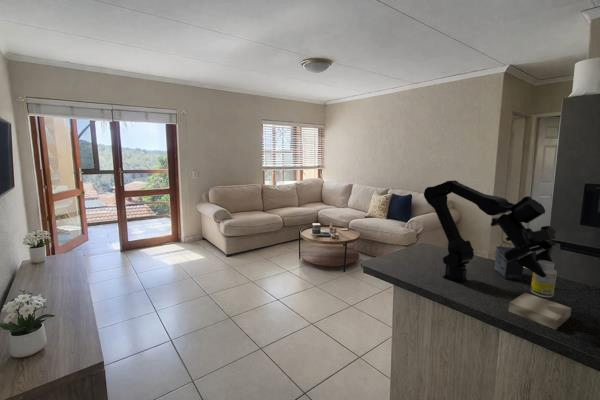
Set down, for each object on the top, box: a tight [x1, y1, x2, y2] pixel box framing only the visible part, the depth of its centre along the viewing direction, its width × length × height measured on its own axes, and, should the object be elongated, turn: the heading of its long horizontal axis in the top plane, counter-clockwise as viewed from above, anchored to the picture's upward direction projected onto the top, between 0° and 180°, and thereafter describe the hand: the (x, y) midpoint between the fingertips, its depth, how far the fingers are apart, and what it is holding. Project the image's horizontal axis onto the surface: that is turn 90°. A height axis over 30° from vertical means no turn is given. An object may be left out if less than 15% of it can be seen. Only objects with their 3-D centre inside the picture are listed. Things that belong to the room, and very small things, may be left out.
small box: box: [493, 245, 524, 281], centre depth 122 cm, size 11×6×10 cm, turn 168°
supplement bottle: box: [530, 260, 558, 298], centre depth 91 cm, size 6×6×10 cm
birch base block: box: [507, 292, 572, 330], centre depth 93 cm, size 12×12×3 cm
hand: (549, 275), depth 90 cm, fingers closed on supplement bottle, 6 cm apart
